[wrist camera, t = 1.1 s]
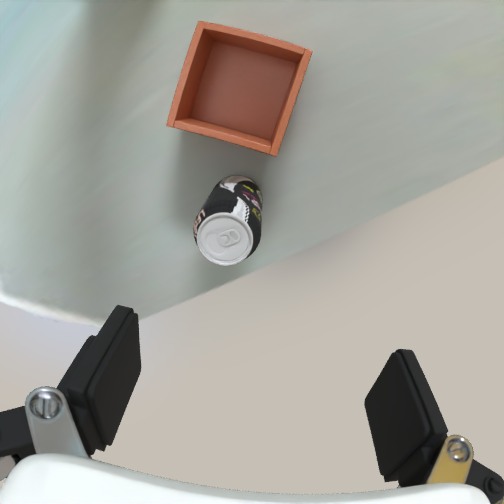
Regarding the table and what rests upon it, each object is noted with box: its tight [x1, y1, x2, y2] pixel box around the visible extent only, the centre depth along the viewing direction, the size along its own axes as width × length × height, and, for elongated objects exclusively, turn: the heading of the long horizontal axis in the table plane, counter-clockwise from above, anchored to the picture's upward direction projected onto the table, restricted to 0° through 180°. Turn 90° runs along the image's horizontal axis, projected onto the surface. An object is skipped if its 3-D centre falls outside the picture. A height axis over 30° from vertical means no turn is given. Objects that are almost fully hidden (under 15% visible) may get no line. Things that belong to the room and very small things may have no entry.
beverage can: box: [194, 176, 262, 266], centre depth 31 cm, size 6×6×12 cm
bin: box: [166, 21, 313, 156], centre depth 28 cm, size 10×10×7 cm
